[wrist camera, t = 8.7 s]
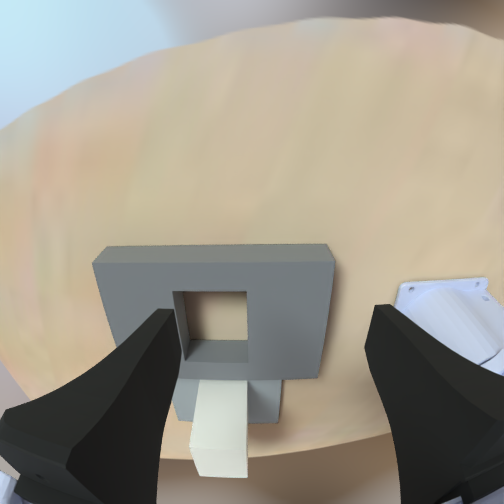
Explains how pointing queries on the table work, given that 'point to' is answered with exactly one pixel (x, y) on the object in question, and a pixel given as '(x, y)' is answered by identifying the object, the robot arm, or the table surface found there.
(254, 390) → the mat
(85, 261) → the table surface
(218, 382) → the plug
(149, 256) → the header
